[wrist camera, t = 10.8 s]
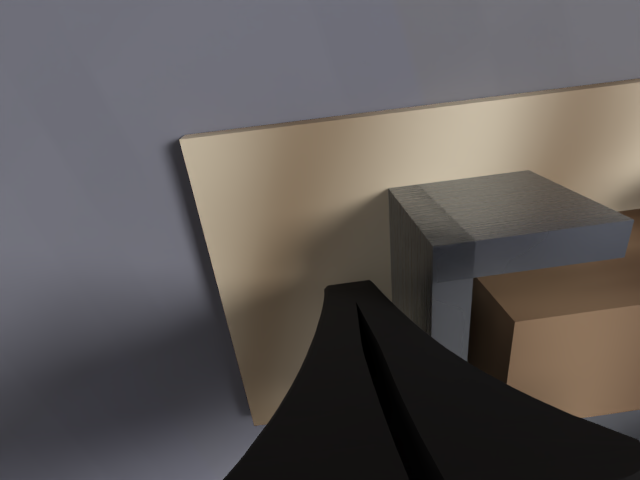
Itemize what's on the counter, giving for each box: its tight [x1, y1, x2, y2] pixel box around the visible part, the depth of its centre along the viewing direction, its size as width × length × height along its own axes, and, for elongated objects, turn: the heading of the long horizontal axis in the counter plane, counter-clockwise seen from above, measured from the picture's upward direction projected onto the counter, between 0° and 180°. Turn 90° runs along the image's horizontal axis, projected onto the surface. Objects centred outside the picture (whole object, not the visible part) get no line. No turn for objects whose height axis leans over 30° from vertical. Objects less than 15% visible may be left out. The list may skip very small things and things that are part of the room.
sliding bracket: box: [388, 170, 634, 361], centre depth 10 cm, size 4×6×4 cm, turn 6°
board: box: [179, 79, 640, 426], centre depth 12 cm, size 18×10×1 cm, turn 96°
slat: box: [467, 209, 640, 418], centre depth 10 cm, size 9×3×4 cm, turn 96°
